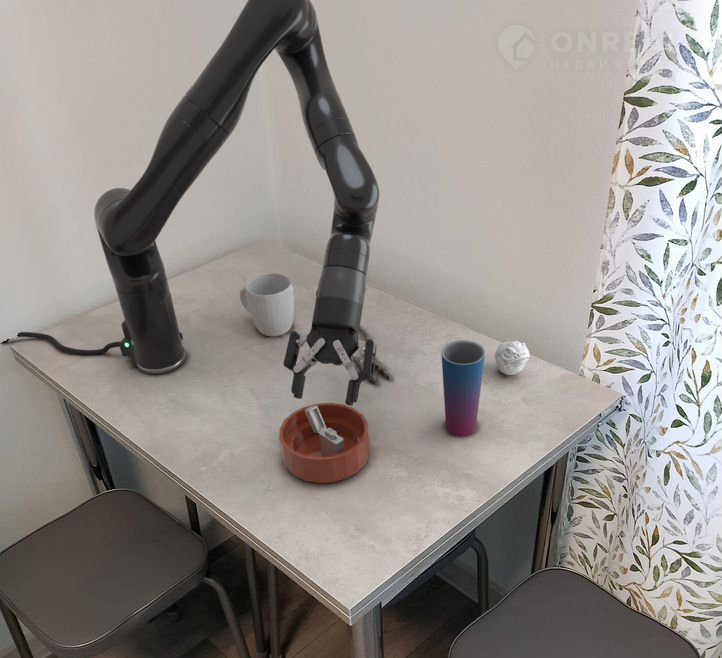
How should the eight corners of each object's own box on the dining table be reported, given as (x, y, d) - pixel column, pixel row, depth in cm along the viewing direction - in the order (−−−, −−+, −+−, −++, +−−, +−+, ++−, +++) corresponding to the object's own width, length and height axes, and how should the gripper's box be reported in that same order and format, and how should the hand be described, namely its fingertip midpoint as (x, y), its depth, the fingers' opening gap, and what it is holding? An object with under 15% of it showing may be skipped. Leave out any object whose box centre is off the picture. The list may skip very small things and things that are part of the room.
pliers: (351, 319, 162) (417, 361, 150) (352, 323, 163) (417, 365, 151) (312, 337, 158) (377, 382, 146) (313, 341, 159) (377, 385, 146)
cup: (437, 416, 139) (438, 342, 129) (476, 412, 139) (480, 338, 129) (444, 441, 134) (445, 366, 124) (484, 437, 134) (489, 362, 124)
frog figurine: (505, 388, 144) (508, 355, 140) (486, 367, 149) (488, 335, 145) (535, 379, 146) (538, 346, 141) (515, 359, 151) (518, 327, 146)
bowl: (270, 478, 129) (266, 452, 126) (299, 423, 140) (296, 398, 136) (356, 491, 126) (353, 465, 122) (379, 434, 136) (378, 408, 133)
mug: (306, 324, 164) (300, 280, 157) (276, 345, 159) (270, 300, 152) (259, 307, 170) (253, 264, 164) (230, 326, 165) (221, 283, 158)
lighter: (346, 459, 131) (342, 420, 126) (338, 464, 130) (334, 425, 125) (316, 440, 135) (311, 402, 130) (308, 445, 134) (303, 407, 129)
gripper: (388, 311, 130) (371, 410, 129) (304, 302, 134) (288, 399, 133) (378, 298, 123) (360, 404, 122) (289, 289, 126) (272, 392, 126)
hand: (323, 401), depth 127 cm, fingers open, 8 cm apart
